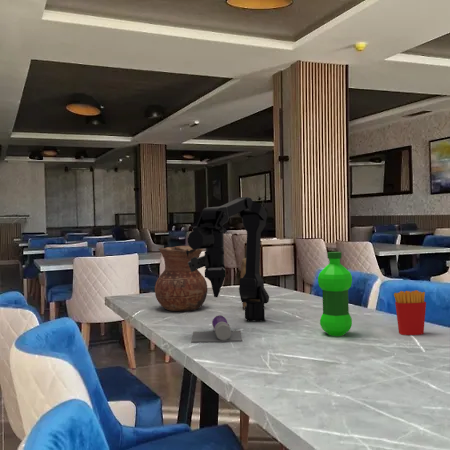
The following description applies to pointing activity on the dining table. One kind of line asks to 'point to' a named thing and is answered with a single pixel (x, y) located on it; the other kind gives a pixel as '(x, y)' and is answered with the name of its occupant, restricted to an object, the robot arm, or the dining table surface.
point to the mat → (214, 337)
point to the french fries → (410, 312)
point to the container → (221, 327)
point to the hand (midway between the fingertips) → (215, 297)
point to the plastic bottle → (335, 296)
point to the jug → (180, 280)
